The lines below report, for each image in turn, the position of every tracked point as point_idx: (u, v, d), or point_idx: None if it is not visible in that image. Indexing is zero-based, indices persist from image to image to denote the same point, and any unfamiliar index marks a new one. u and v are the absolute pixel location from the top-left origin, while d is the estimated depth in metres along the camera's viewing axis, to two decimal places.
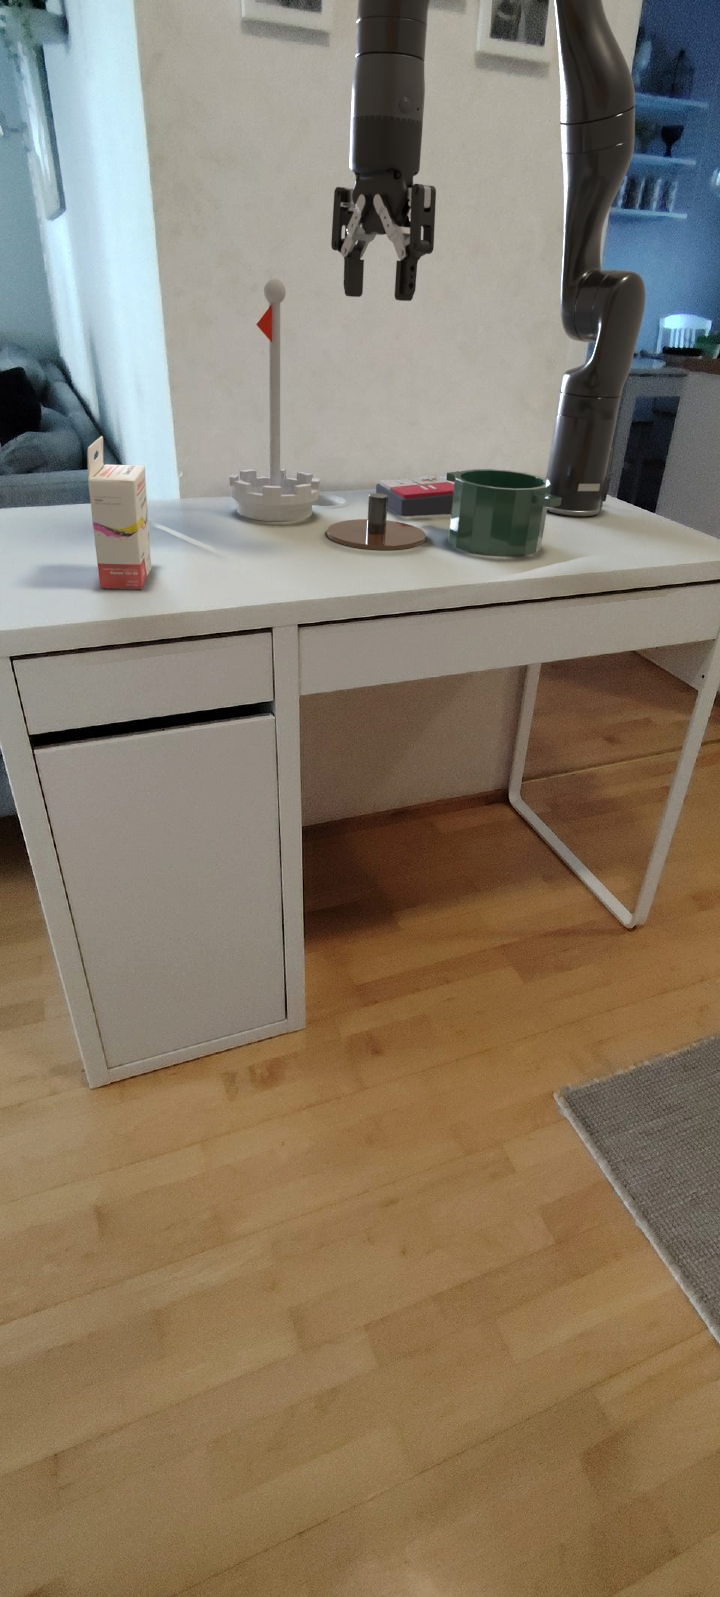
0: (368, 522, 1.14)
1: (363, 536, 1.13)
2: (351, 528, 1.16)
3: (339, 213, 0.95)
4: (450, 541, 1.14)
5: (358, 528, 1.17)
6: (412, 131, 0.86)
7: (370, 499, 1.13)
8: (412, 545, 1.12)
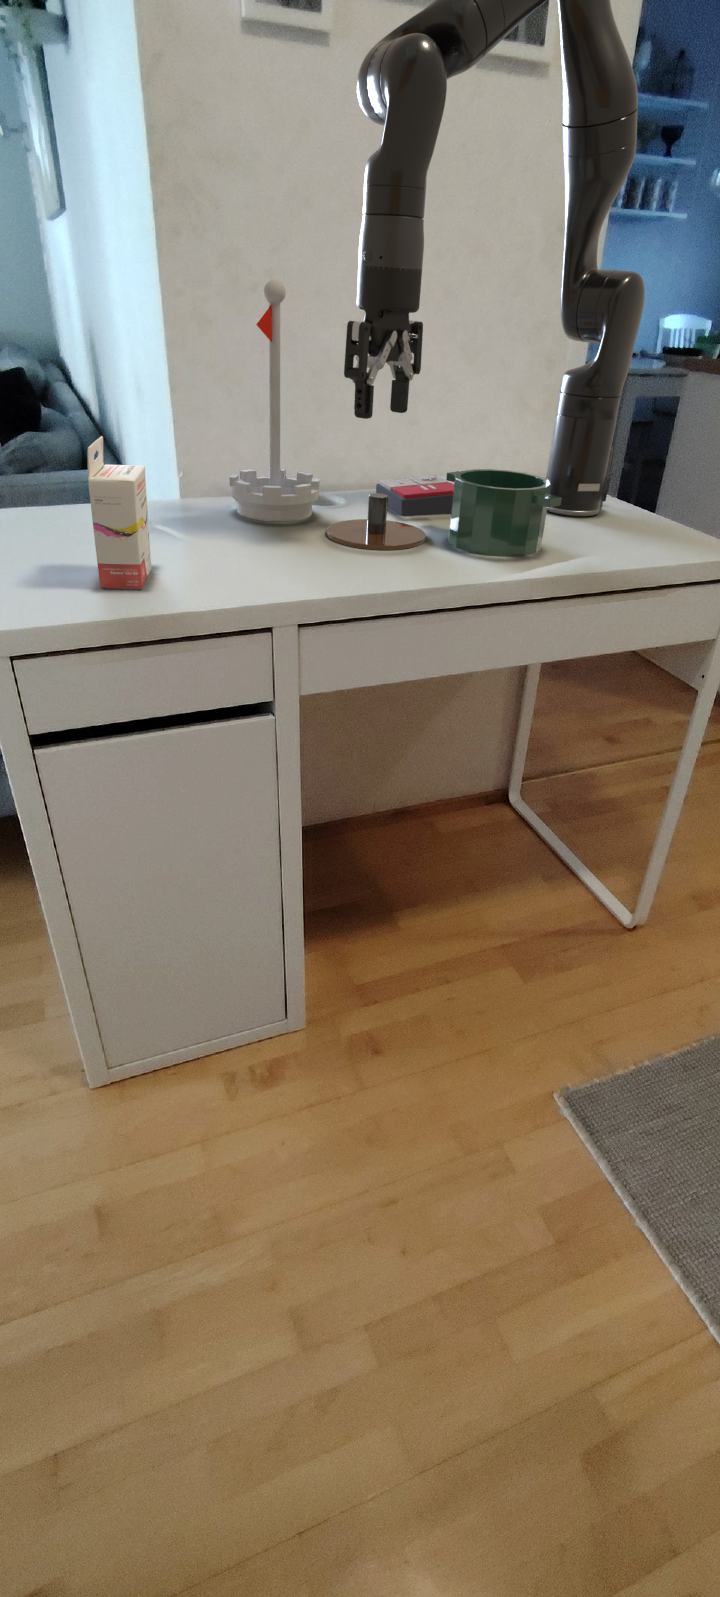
0: (368, 522, 1.14)
1: (363, 536, 1.13)
2: (351, 528, 1.16)
3: None
4: (450, 541, 1.14)
5: (358, 528, 1.17)
6: (374, 276, 0.96)
7: (370, 499, 1.13)
8: (412, 545, 1.12)
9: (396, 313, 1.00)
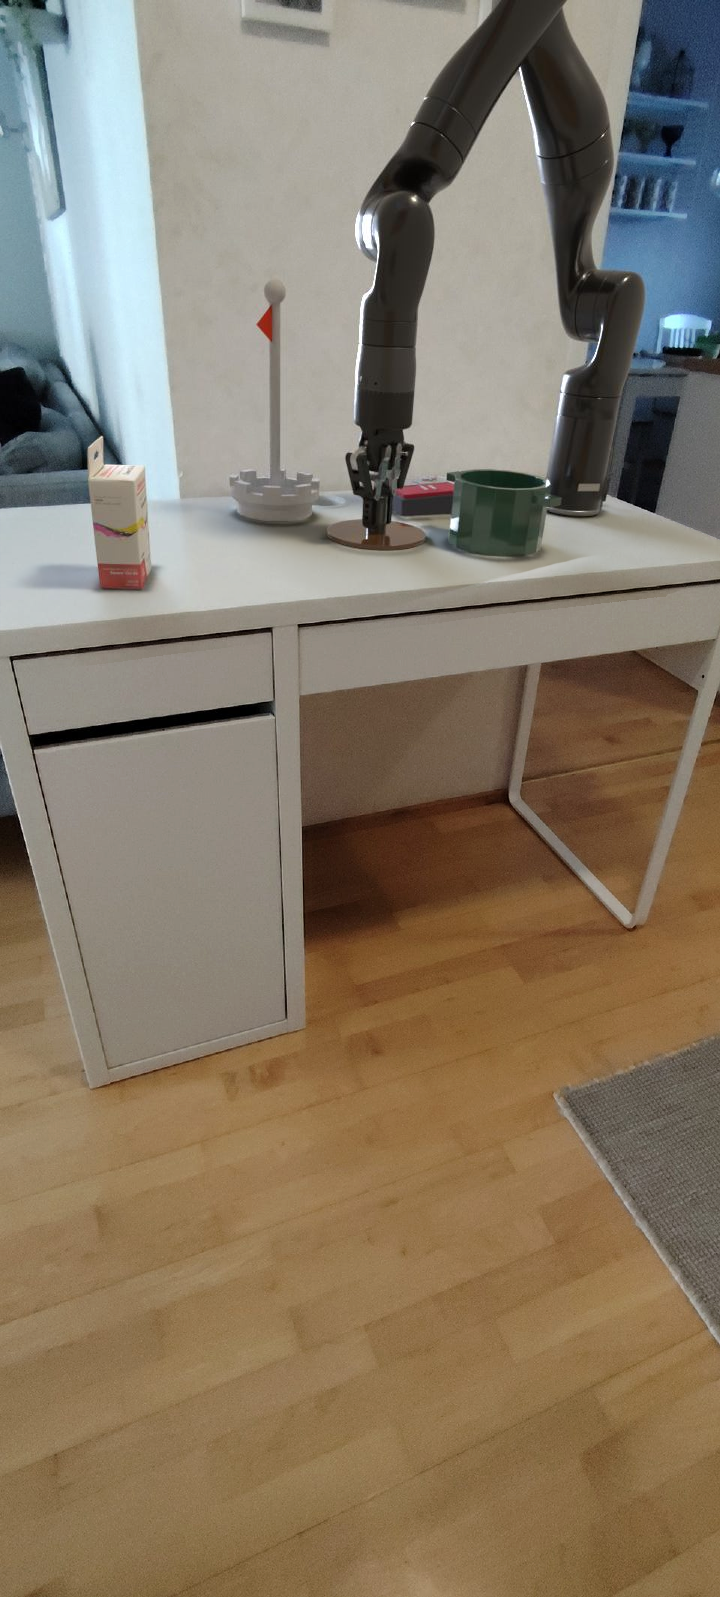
0: None
1: (363, 536, 1.13)
2: (351, 528, 1.16)
3: None
4: (450, 541, 1.14)
5: (358, 528, 1.17)
6: (370, 399, 1.04)
7: None
8: (412, 545, 1.12)
9: None
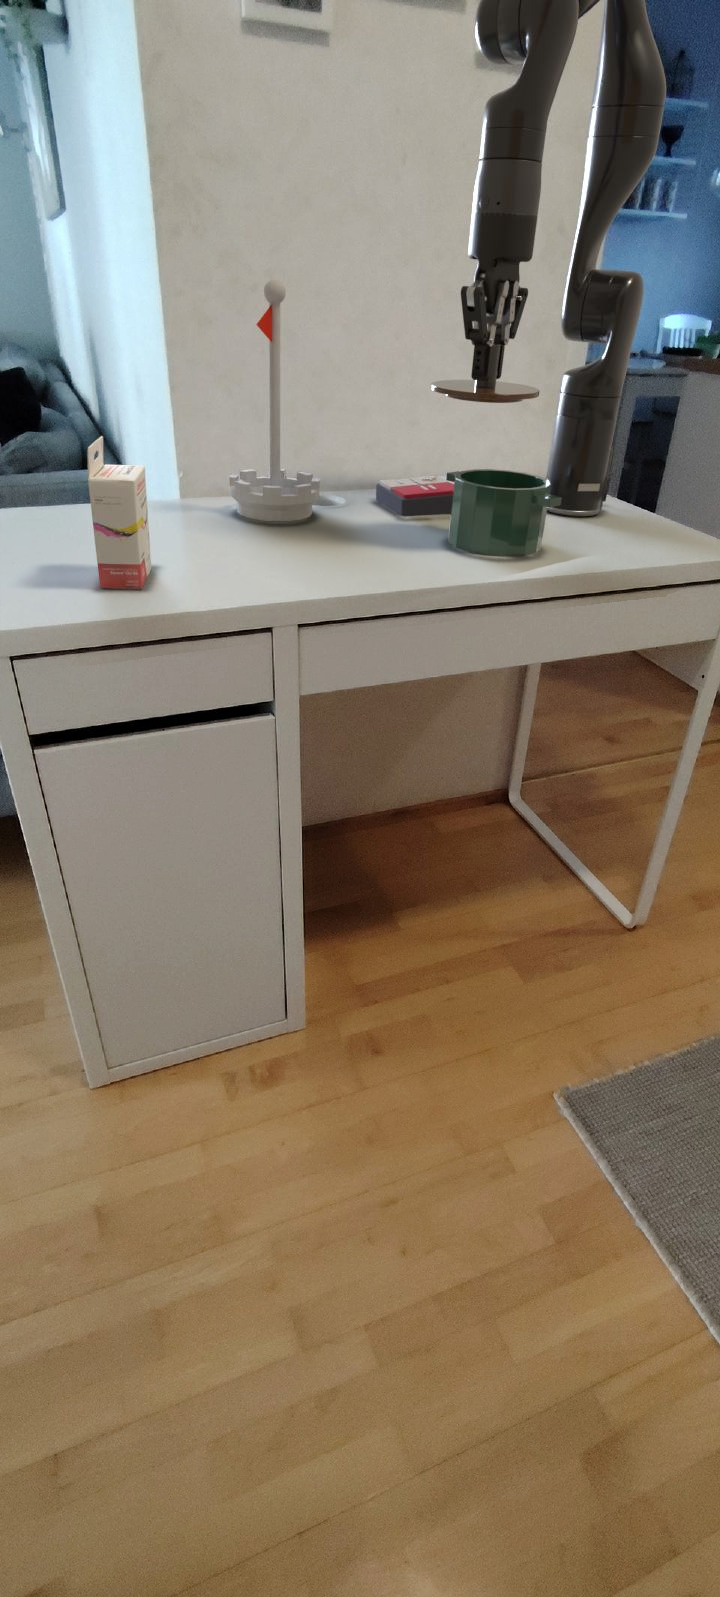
0: None
1: (473, 388, 1.04)
2: (457, 384, 1.07)
3: None
4: (450, 541, 1.14)
5: (464, 384, 1.07)
6: (490, 223, 0.94)
7: None
8: (528, 396, 1.02)
9: (508, 263, 0.98)
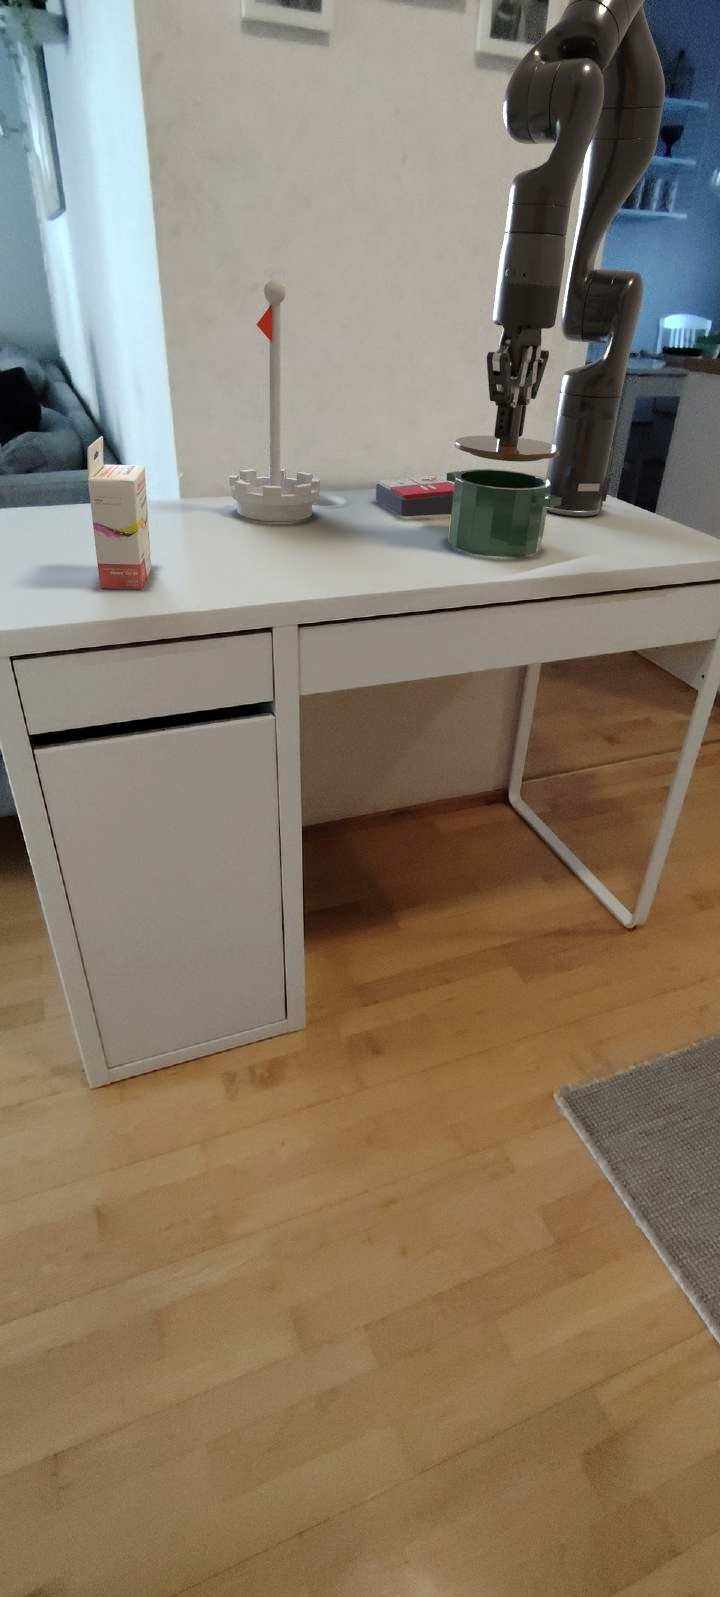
0: None
1: (496, 447, 1.07)
2: (480, 441, 1.10)
3: None
4: (450, 541, 1.14)
5: (487, 441, 1.10)
6: (516, 293, 0.98)
7: None
8: (550, 455, 1.05)
9: (532, 329, 1.02)
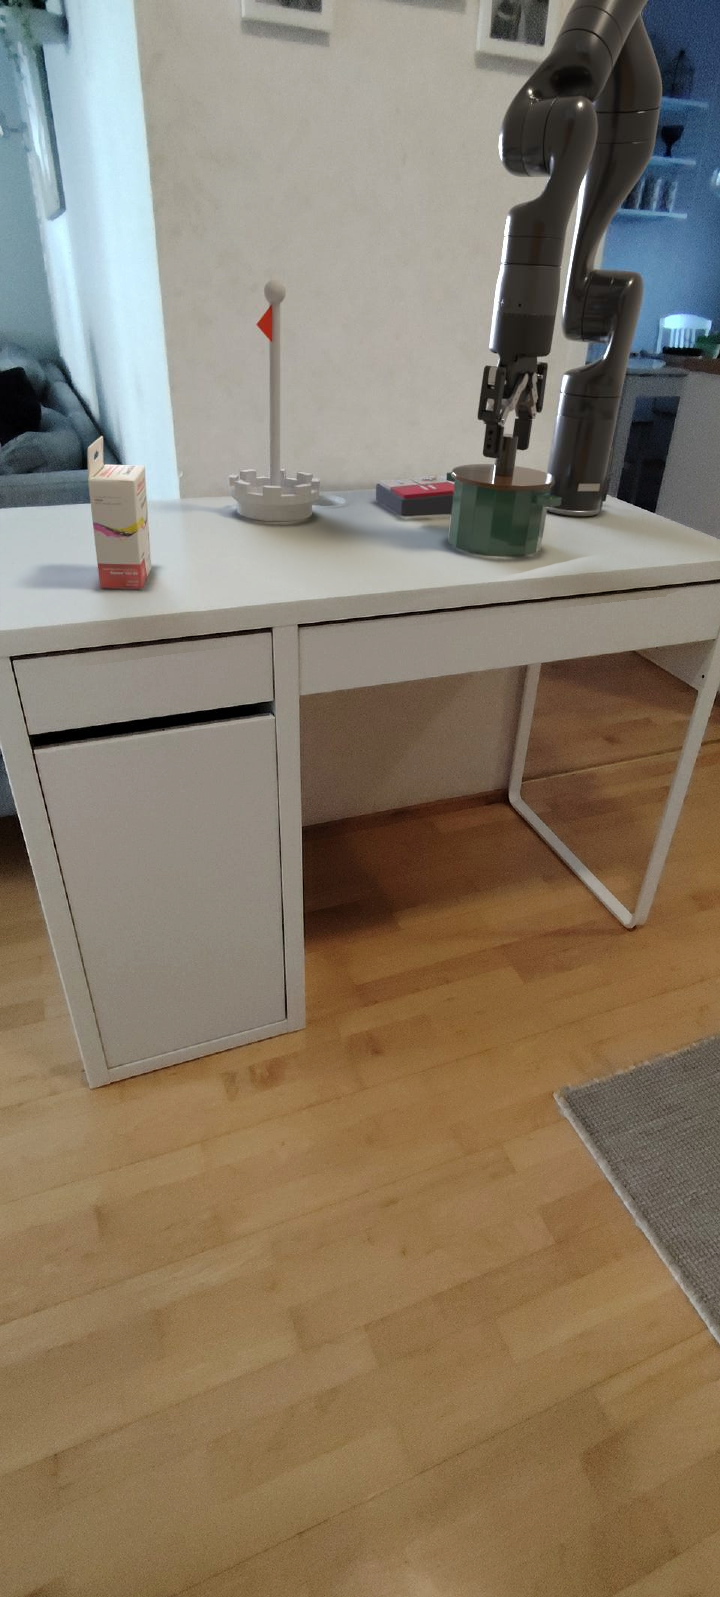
0: (496, 464, 1.10)
1: (492, 478, 1.09)
2: (476, 471, 1.12)
3: None
4: (450, 541, 1.14)
5: (483, 471, 1.12)
6: (512, 322, 0.99)
7: None
8: (545, 486, 1.07)
9: (528, 356, 1.03)
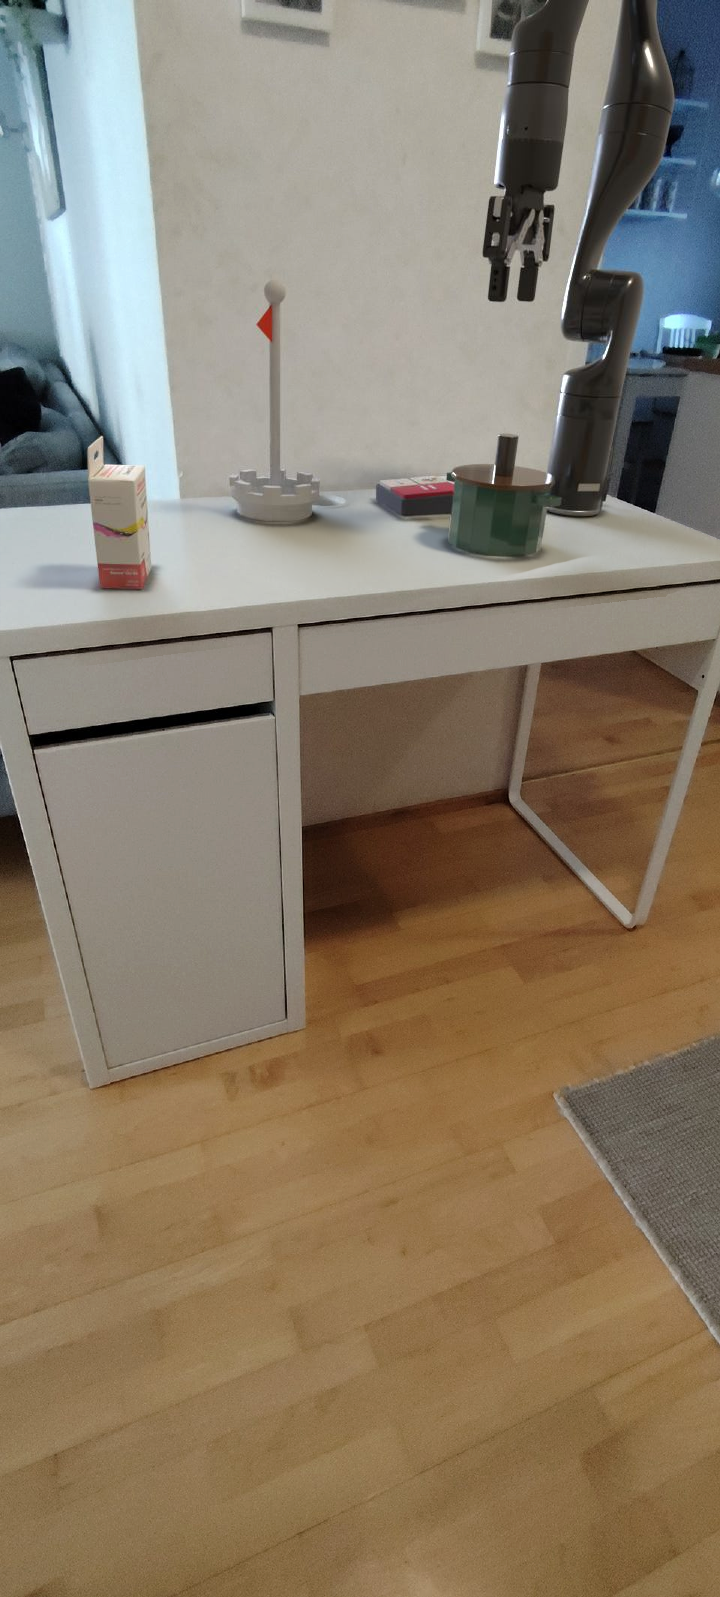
0: (496, 464, 1.10)
1: (492, 478, 1.09)
2: (476, 471, 1.12)
3: None
4: (450, 541, 1.14)
5: (483, 471, 1.12)
6: (518, 149, 0.95)
7: (500, 439, 1.08)
8: (545, 486, 1.07)
9: (534, 191, 0.99)
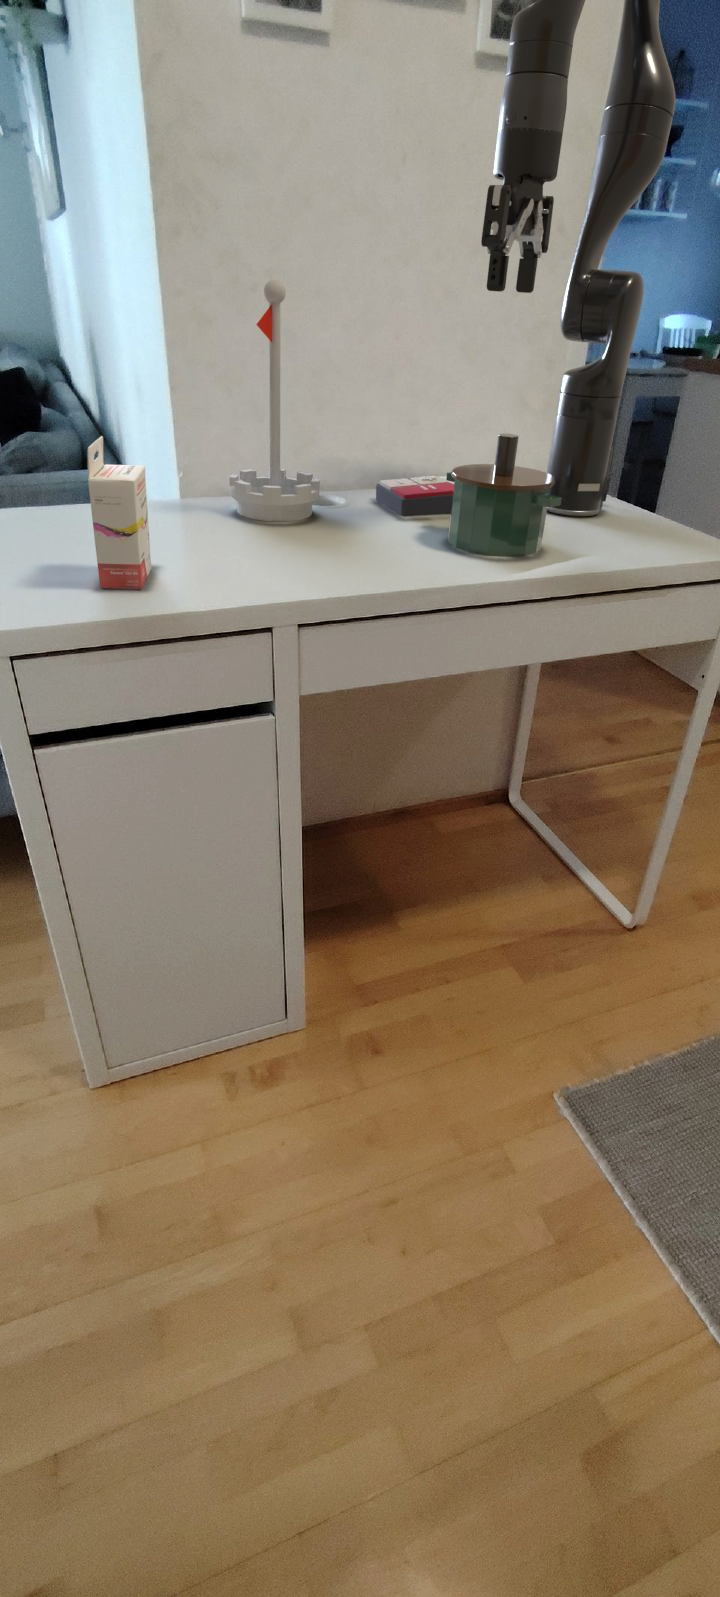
0: (496, 464, 1.10)
1: (492, 478, 1.09)
2: (476, 471, 1.12)
3: None
4: (450, 541, 1.14)
5: (483, 471, 1.12)
6: (517, 138, 0.96)
7: (500, 439, 1.08)
8: (545, 486, 1.07)
9: (533, 181, 1.00)
